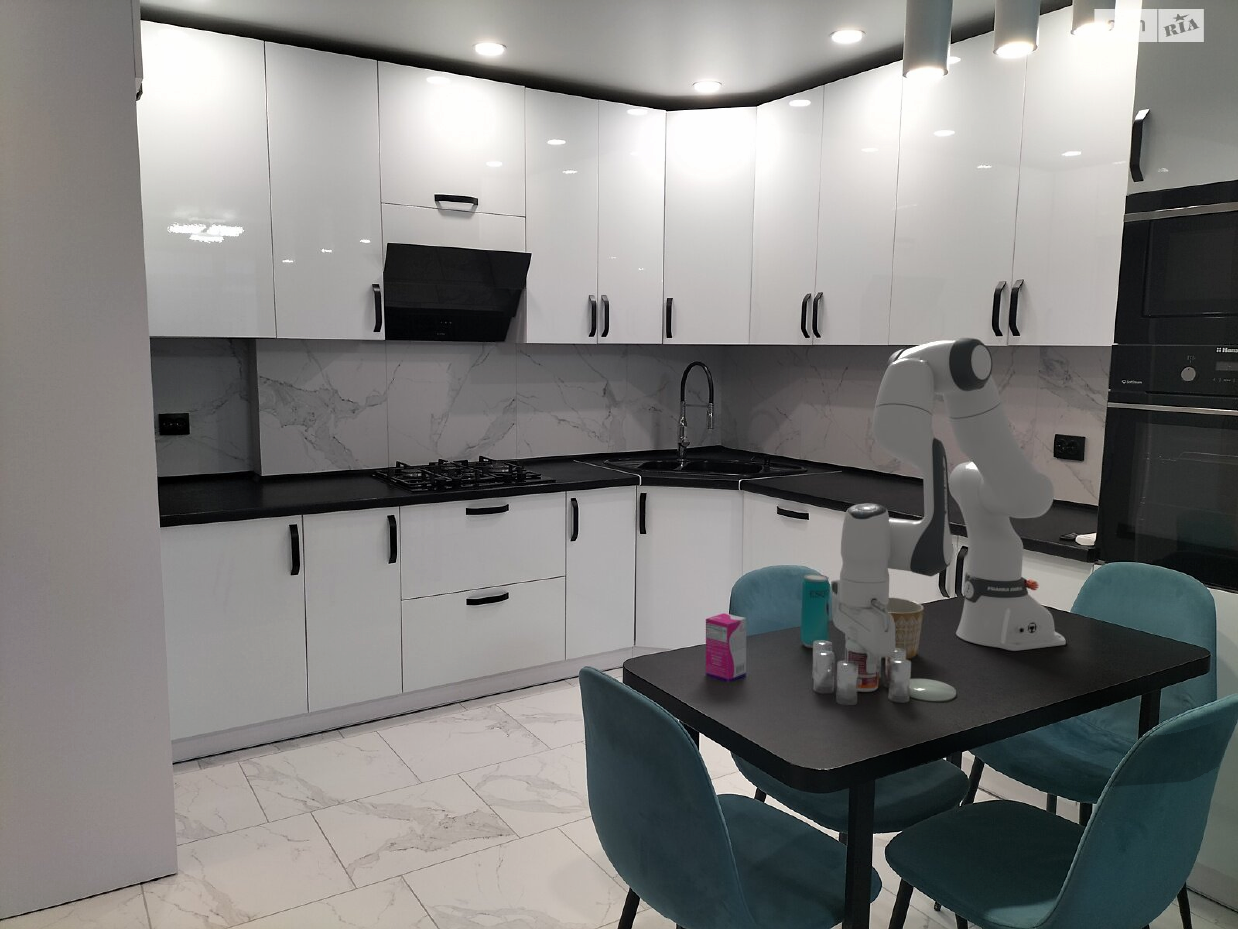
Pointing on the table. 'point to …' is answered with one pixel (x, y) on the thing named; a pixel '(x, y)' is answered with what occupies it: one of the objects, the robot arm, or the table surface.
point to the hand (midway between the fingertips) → (861, 665)
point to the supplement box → (726, 647)
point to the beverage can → (814, 609)
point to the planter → (906, 624)
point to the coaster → (931, 690)
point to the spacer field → (848, 674)
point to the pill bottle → (860, 663)
